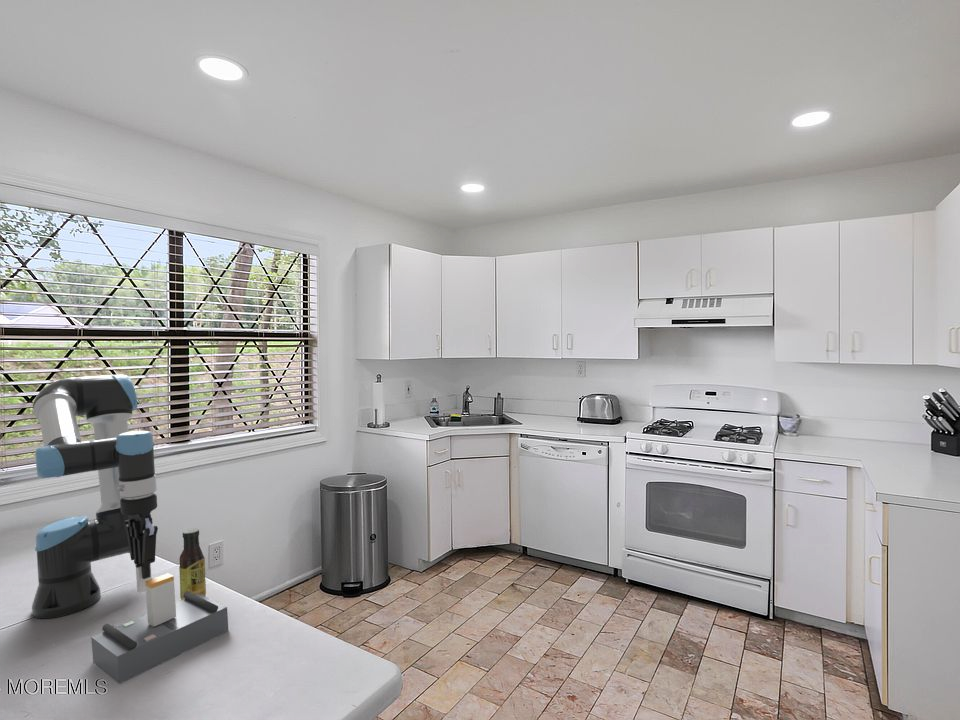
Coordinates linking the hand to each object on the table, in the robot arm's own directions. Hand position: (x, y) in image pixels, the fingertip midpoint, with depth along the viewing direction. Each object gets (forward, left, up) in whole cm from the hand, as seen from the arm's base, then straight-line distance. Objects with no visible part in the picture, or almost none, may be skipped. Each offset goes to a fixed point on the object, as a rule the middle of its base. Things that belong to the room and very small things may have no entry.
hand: (144, 589), depth 130 cm
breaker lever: (+8, 0, -6) cm, 10 cm away
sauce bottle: (-8, +15, -12) cm, 21 cm away
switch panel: (+8, 0, -12) cm, 14 cm away
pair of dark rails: (+8, 0, -6) cm, 10 cm away
